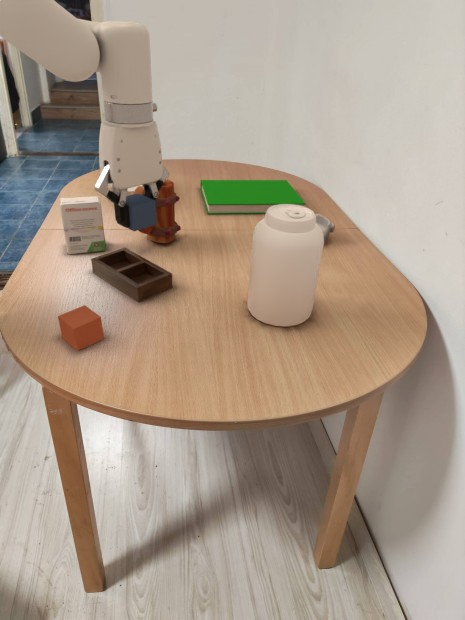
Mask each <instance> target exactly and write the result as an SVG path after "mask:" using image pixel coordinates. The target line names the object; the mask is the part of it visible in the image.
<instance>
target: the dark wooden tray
mask: <svg viewBox="0 0 465 620" xmlns="http://www.w3.org/2000/svg"><path fill="white" fill-rule="evenodd" d="M90 260H91V261H90V262H91V269H92V274H94V275H96V276H97V277H99V278H100V279H102V280H103V281H105V282H107V283H108V284H109V285H110V286H112V287H114V288H116V289H117V290H119V291H121V292H122V293H124V294H125V295H127V296H128V297H130V298H131V299H133V300H134V301H136V302H137V303H140V302H143V301H145V300H148V299H150V298H152V297H155V296H157V295H159V294H161V293H164V292H166V291H168V290H170V289H173V273H172V272H171V271H169V270H167V269H165V268H163V267H161V266H159V265H158V264H155V263H154V262H152V261H150V260H149V259H147V258H145V257H143V256H141V255H139V254H138V253H136V252H134V251H132V250H131V249H129V248H127V247H123V248H119V249H117V250H113V251H110V252H107V253H104V254H101V255H97V256H96V257H92V258H91V259H90Z"/></svg>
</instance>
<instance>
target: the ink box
mask: <svg viewBox="0 0 465 620" xmlns="http://www.w3.org/2000/svg"><path fill="white" fill-rule="evenodd" d="M59 208H60V215H61V222H62V228H63V233H64V240H65V245H66V246H65V247H66V252H67V255H75V254H85V253H86V254H87V253H97V252H105V251H107V245H106V238H105V227H104V219H103V209H102V201H101V199H100V197H99V196H98V195H95V196H79V197H60V198H59Z"/></svg>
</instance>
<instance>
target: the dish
mask: <svg viewBox="0 0 465 620" xmlns="http://www.w3.org/2000/svg"><path fill="white" fill-rule="evenodd" d="M315 216H316V223H317V225H318V226H319V227H320V228H321V229H322V232H323V237H324V243H325V242H326V241H327V240H328V238H329V235H330V233H334V232H335V228H336V224H335V223H331V220H330V219H329V218H327V217H326V216H324V215H322V214H320V213H315Z"/></svg>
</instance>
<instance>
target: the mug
mask: <svg viewBox="0 0 465 620" xmlns="http://www.w3.org/2000/svg"><path fill="white" fill-rule="evenodd" d="M174 184H175V183H174V182H173V181H172V180H170V179H168V178H167V179H166V181H165V182H163V186H162V187H161V189H160V190H159V192H158V193H159V195H158V197H157V198H156V223H157V224H156V225H153V226H150V227H147V228H143V229H140V230H137V232H139V233H141V234H144V235H146V237H147V240H149V241H151V242H153V243H156V244H169V243H172V242H173V241H174V240H175V238H176V234H177V233H178V232H179V231H181V229H182V227H181V226H180V225H179V224H178V222H177V221H176V214H175V213H176V212H175V211H176V209H175V204H176V203H177V202H179V201H180V199H181V198H180V196H178V195H177V193H176V191H175V185H174ZM138 193H139V194H141V195H142V194H145V193H144V190H143V187H142V186H138V187H137V188H136V189H135V192H134V194H138Z"/></svg>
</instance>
